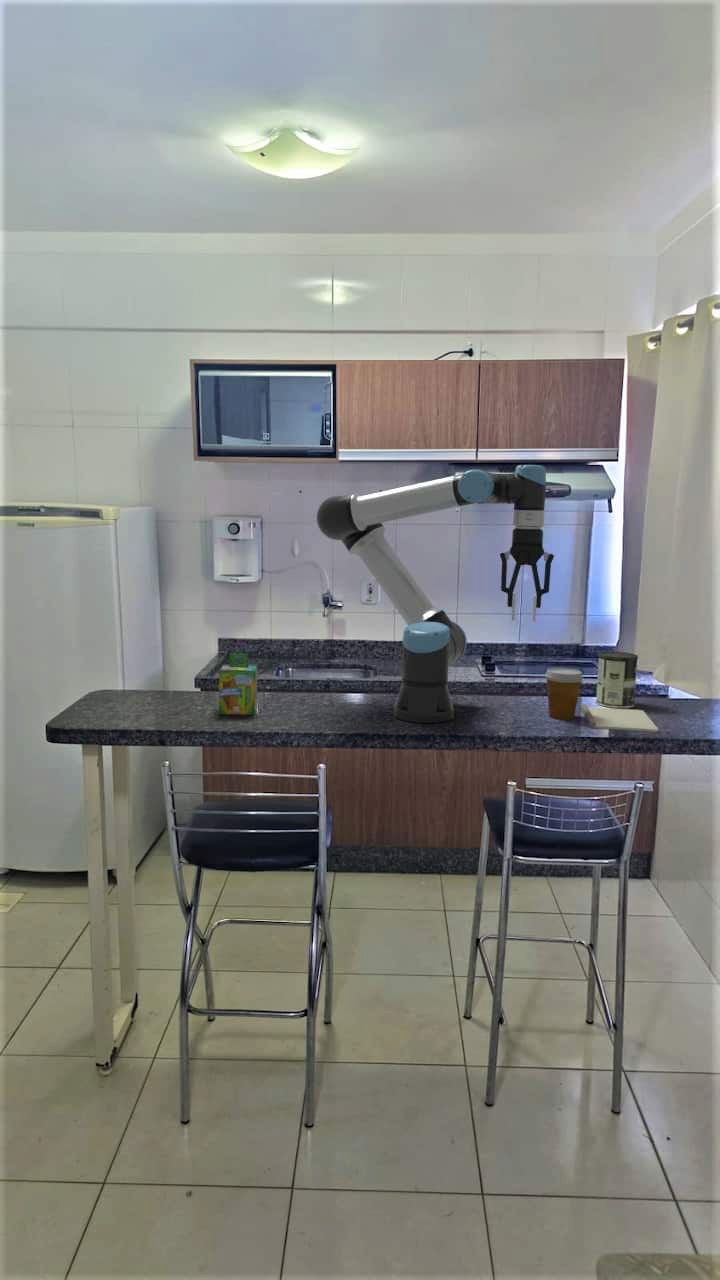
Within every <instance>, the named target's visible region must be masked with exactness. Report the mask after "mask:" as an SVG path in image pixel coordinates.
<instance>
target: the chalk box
mask: <svg viewBox="0 0 720 1280" xmlns="http://www.w3.org/2000/svg"><path fill="white" fill-rule="evenodd" d="M237 659H241V660H242V662H241V663H237V662H235V660H237ZM228 661H229V663H226V664H222V666H221V668H220V670H219V674H218V675H219V677H218V678H219V679H218V681H219V682H218V715H222V716H223V715H225V716H226V715H230V716H231V715H232V716H255V714H256V711H257V705H258V703H257V701H258V699H257V698H258V665H257V664H249V655H248V654H247V653H230V654H229V660H228Z"/></svg>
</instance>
